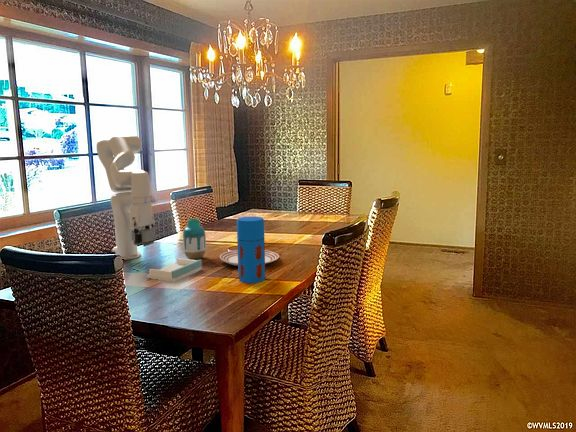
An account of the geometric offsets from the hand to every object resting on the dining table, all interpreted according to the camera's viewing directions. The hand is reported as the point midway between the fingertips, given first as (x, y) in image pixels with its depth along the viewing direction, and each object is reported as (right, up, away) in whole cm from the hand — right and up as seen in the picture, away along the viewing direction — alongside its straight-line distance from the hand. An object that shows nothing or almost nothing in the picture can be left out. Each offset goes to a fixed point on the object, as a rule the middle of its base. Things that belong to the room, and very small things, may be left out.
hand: (143, 240), depth 200 cm
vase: (+19, -10, +20) cm, 29 cm away
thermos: (+48, -15, -13) cm, 52 cm away
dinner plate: (+45, -11, +13) cm, 48 cm away
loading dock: (+15, -14, -5) cm, 21 cm away
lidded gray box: (0, -2, 0) cm, 2 cm away
